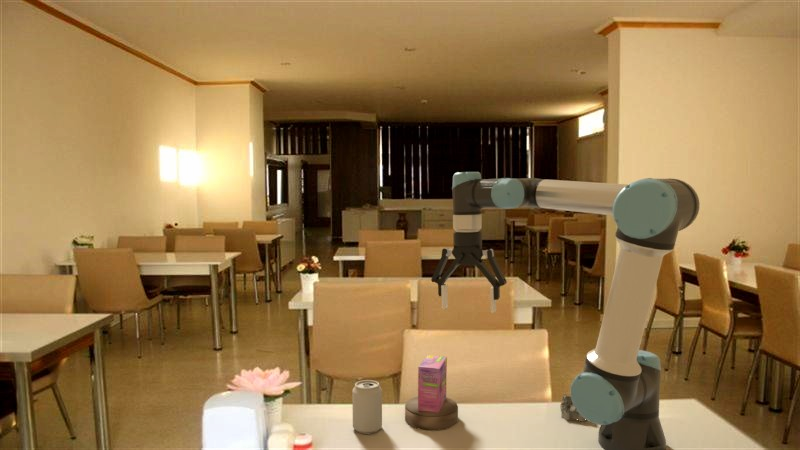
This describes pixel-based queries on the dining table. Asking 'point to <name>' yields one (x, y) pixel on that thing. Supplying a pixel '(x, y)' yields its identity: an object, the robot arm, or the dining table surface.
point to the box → (432, 383)
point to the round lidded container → (431, 416)
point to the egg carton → (573, 410)
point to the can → (367, 406)
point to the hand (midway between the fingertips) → (468, 310)
